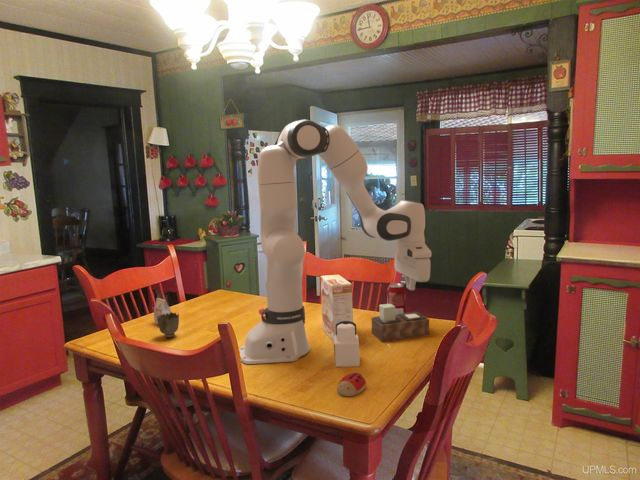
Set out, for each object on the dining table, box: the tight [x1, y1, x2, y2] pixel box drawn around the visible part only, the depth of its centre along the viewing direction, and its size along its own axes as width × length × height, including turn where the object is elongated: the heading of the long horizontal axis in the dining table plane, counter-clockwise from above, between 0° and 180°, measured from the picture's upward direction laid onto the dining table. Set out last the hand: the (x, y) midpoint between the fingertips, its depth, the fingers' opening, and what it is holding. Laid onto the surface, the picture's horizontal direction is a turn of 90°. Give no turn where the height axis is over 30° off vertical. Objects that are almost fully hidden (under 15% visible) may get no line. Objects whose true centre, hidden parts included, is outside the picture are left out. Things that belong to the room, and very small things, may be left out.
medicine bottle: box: [333, 321, 361, 368], centre depth 141 cm, size 7×7×12 cm
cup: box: [157, 311, 180, 339], centre depth 169 cm, size 8×7×8 cm
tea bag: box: [153, 297, 172, 325], centre depth 183 cm, size 4×7×10 cm, turn 45°
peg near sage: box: [378, 303, 395, 321], centre depth 160 cm, size 4×4×6 cm
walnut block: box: [371, 311, 430, 343], centre depth 162 cm, size 17×9×6 cm, turn 105°
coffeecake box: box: [319, 274, 354, 343], centre depth 163 cm, size 15×7×20 cm, turn 14°
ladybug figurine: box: [337, 372, 367, 397], centre depth 124 cm, size 7×10×4 cm
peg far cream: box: [405, 314, 420, 318], centre depth 163 cm, size 4×4×6 cm
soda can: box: [386, 282, 407, 315], centre depth 182 cm, size 7×7×12 cm
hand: (410, 289), depth 161 cm, fingers closed
